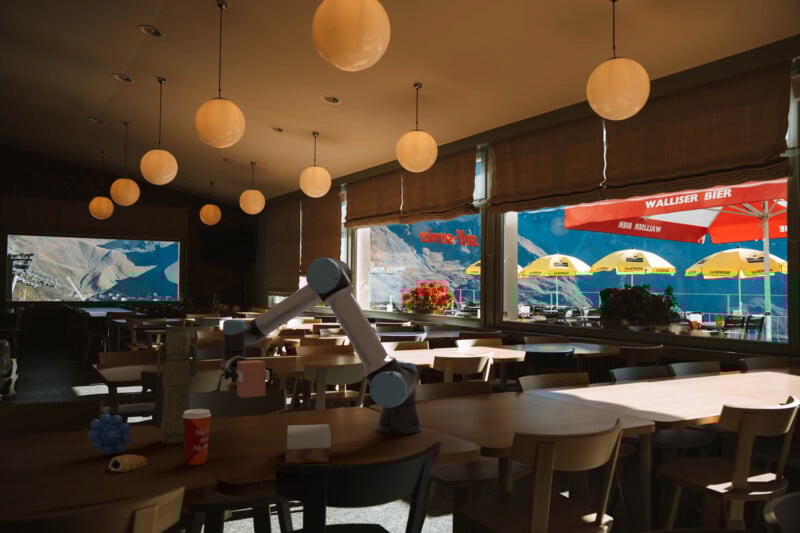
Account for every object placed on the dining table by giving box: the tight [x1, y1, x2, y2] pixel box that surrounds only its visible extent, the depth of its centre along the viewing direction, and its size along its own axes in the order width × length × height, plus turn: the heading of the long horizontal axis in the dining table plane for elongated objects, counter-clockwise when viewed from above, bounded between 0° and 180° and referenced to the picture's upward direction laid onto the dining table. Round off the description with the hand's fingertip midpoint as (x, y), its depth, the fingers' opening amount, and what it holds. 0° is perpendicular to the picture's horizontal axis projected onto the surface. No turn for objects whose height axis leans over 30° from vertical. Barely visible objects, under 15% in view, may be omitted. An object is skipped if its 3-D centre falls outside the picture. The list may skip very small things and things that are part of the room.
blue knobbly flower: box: [87, 412, 132, 456], centre depth 175 cm, size 12×7×12 cm, turn 128°
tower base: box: [284, 444, 330, 463], centre depth 176 cm, size 12×12×4 cm
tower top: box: [286, 423, 332, 449], centre depth 176 cm, size 12×12×4 cm
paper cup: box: [182, 408, 212, 466], centre depth 169 cm, size 8×8×14 cm
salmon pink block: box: [236, 359, 267, 399], centre depth 184 cm, size 7×7×10 cm
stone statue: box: [156, 328, 199, 445], centre depth 194 cm, size 9×12×35 cm
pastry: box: [108, 453, 148, 473], centre depth 164 cm, size 9×7×4 cm
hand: (254, 376), depth 180 cm, fingers closed on salmon pink block, 7 cm apart
